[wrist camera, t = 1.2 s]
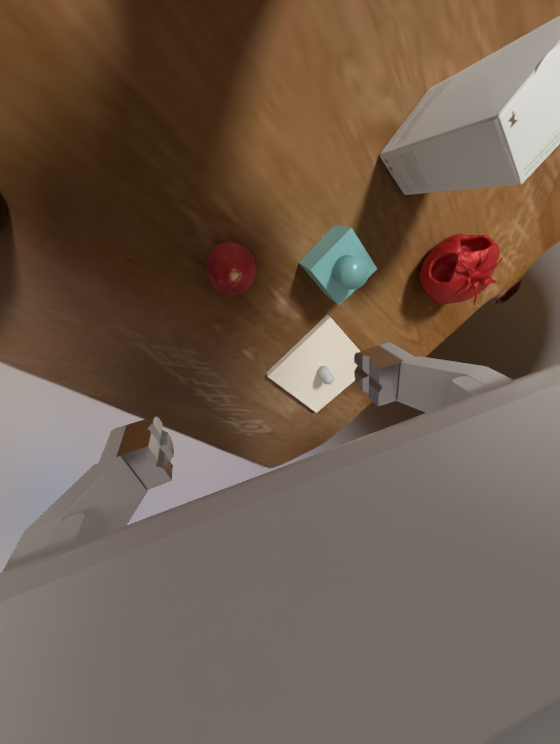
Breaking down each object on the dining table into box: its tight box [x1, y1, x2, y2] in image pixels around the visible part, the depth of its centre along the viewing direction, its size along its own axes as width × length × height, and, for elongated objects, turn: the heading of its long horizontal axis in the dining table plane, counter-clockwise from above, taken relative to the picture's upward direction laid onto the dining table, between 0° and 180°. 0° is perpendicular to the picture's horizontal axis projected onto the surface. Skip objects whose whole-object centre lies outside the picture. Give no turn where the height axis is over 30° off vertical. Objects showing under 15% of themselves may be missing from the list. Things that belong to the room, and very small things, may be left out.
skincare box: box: [380, 16, 560, 195], centre depth 25 cm, size 8×7×16 cm
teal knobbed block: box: [299, 225, 377, 305], centre depth 34 cm, size 7×7×8 cm
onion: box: [206, 242, 256, 295], centre depth 30 cm, size 6×6×8 cm
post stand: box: [266, 315, 360, 413], centre depth 45 cm, size 14×14×5 cm
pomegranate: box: [419, 234, 502, 304], centre depth 37 cm, size 10×10×9 cm
